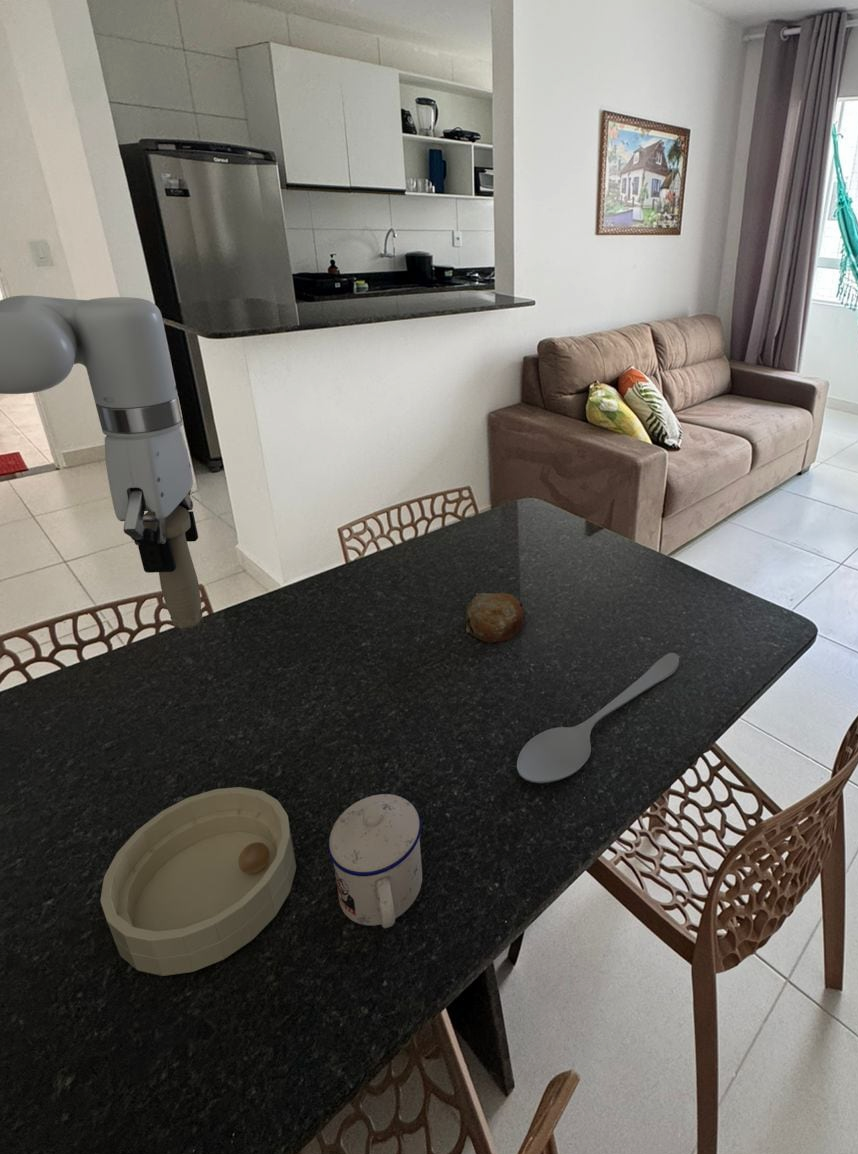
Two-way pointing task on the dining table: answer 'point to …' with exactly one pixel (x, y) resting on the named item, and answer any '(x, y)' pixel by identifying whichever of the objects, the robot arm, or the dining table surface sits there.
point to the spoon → (580, 733)
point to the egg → (254, 858)
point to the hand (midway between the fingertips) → (172, 554)
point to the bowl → (198, 881)
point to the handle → (180, 572)
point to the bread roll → (494, 617)
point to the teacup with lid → (377, 859)
